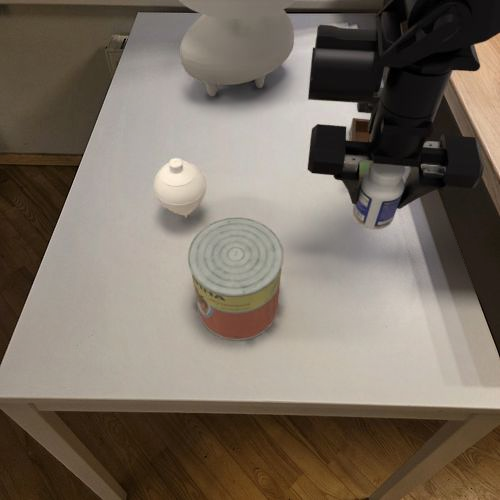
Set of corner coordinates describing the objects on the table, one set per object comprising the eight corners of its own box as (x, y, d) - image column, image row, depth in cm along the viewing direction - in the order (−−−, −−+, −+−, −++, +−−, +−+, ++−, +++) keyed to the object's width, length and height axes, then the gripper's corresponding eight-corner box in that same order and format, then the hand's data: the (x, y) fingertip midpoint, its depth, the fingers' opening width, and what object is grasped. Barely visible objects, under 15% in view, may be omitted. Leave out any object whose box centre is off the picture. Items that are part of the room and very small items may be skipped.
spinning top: (200, 241, 69) (191, 187, 60) (154, 230, 71) (138, 175, 61) (216, 205, 74) (211, 149, 64) (173, 195, 75) (161, 138, 65)
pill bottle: (395, 205, 61) (413, 156, 54) (389, 235, 58) (408, 186, 51) (356, 196, 62) (369, 147, 55) (348, 225, 59) (361, 176, 52)
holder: (391, 134, 84) (395, 122, 81) (393, 193, 75) (398, 180, 73) (349, 130, 84) (352, 117, 82) (346, 187, 76) (349, 175, 73)
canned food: (186, 285, 65) (175, 234, 55) (257, 259, 67) (258, 206, 58) (215, 353, 59) (208, 310, 49) (292, 321, 61) (300, 274, 52)
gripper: (492, 62, 49) (444, 167, 62) (320, 50, 51) (308, 154, 64) (512, 128, 43) (453, 230, 55) (314, 112, 44) (301, 214, 57)
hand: (376, 203), depth 58 cm, fingers closed on pill bottle, 5 cm apart
